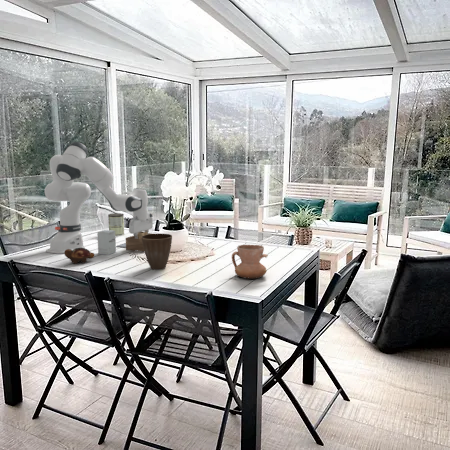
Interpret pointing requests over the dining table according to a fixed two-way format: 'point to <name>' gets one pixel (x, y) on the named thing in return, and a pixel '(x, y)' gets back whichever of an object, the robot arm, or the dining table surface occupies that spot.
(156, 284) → the dining table surface
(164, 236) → the plant pot
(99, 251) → the supplement box
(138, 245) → the walnut caddy
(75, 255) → the decorative turtle
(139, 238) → the oak block
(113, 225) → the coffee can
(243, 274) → the ceramic jug
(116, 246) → the rubber coaster
